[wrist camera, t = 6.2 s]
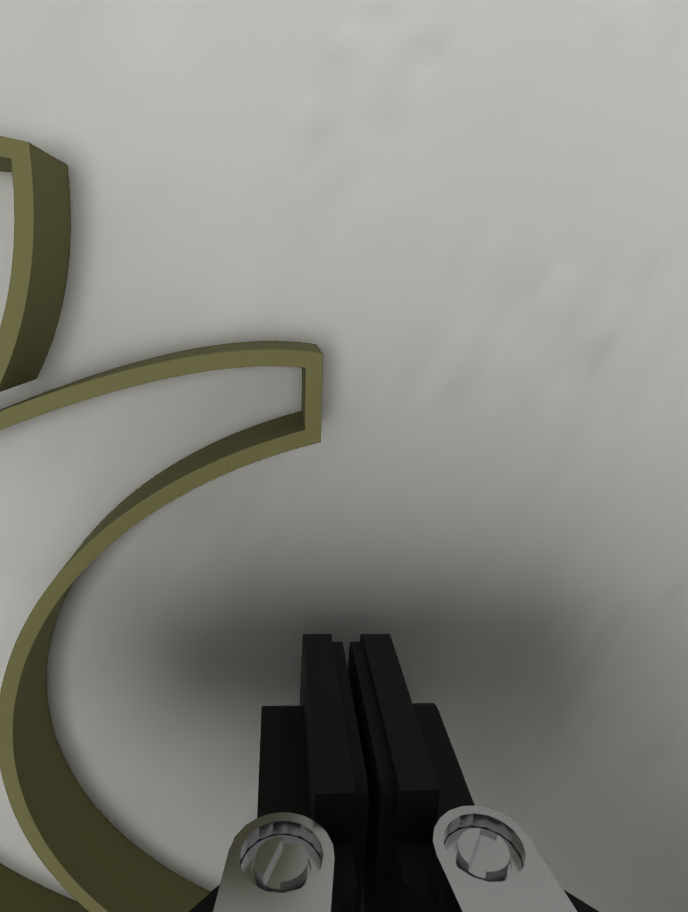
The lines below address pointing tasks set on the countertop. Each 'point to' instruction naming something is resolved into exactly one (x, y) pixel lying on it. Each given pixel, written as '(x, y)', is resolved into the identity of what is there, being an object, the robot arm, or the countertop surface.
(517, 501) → the countertop surface
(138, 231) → the countertop surface
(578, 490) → the countertop surface
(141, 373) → the cookie cutter
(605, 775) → the countertop surface
